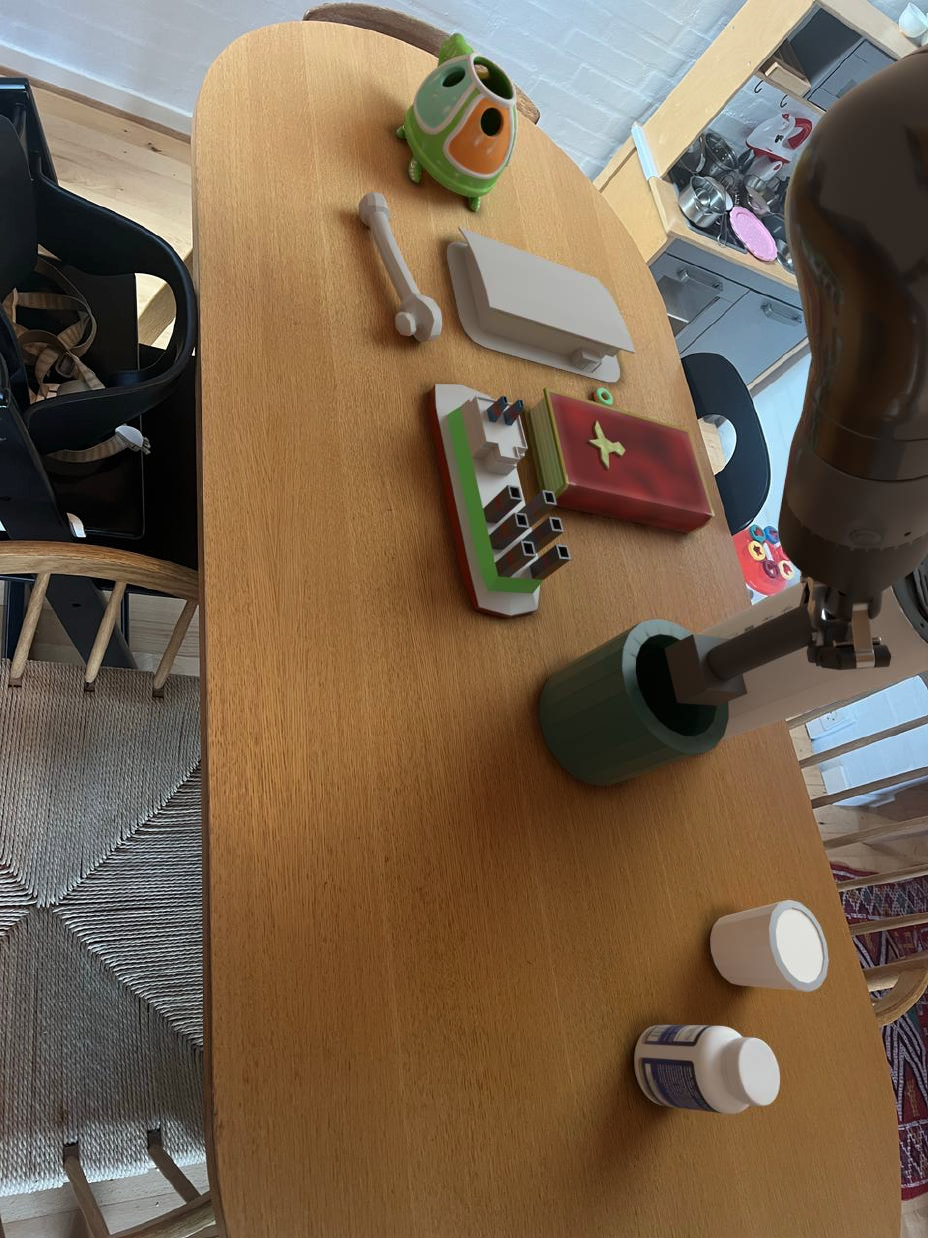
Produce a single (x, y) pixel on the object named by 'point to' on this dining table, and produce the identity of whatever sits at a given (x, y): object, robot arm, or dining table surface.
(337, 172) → the dining table surface
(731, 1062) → the pill bottle
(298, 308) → the dining table surface
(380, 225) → the grey knobbed bar
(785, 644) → the grey peg on base
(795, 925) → the white tapered cup
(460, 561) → the toy boat
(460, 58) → the turtle holder
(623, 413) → the hardcover book
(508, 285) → the grey tray
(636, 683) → the jar
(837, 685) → the beige cylinder
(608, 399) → the green looped rod
